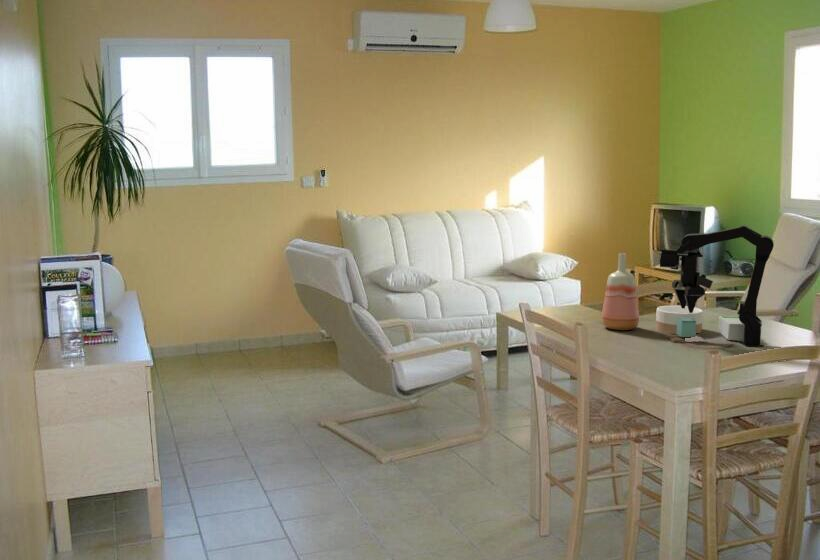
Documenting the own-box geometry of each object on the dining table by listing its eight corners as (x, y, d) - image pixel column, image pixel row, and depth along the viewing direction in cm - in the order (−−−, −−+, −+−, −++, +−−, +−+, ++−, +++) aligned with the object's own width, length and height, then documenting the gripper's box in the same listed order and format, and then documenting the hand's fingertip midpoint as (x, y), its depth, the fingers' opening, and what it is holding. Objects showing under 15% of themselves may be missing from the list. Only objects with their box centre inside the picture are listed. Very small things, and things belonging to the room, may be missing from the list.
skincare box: (740, 316, 339) (752, 323, 323) (739, 333, 340) (751, 341, 324) (718, 315, 339) (729, 322, 324) (717, 332, 340) (728, 340, 325)
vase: (593, 326, 351) (596, 252, 347) (623, 323, 357) (626, 250, 352) (616, 333, 338) (618, 256, 334) (646, 330, 344) (649, 254, 339)
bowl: (661, 335, 336) (662, 313, 335) (651, 325, 353) (651, 305, 352) (707, 335, 335) (708, 313, 334) (694, 326, 352) (695, 305, 351)
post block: (706, 342, 323) (707, 323, 322) (673, 342, 323) (674, 323, 322) (697, 336, 332) (698, 318, 331) (665, 337, 332) (666, 318, 331)
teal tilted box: (695, 336, 325) (696, 320, 324) (681, 337, 324) (681, 321, 324) (690, 333, 330) (691, 318, 329) (676, 334, 330) (677, 318, 329)
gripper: (720, 272, 314) (718, 315, 317) (701, 265, 333) (699, 305, 335) (689, 272, 314) (687, 315, 316) (672, 265, 332) (670, 305, 335)
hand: (687, 310), depth 326 cm, fingers open, 8 cm apart
